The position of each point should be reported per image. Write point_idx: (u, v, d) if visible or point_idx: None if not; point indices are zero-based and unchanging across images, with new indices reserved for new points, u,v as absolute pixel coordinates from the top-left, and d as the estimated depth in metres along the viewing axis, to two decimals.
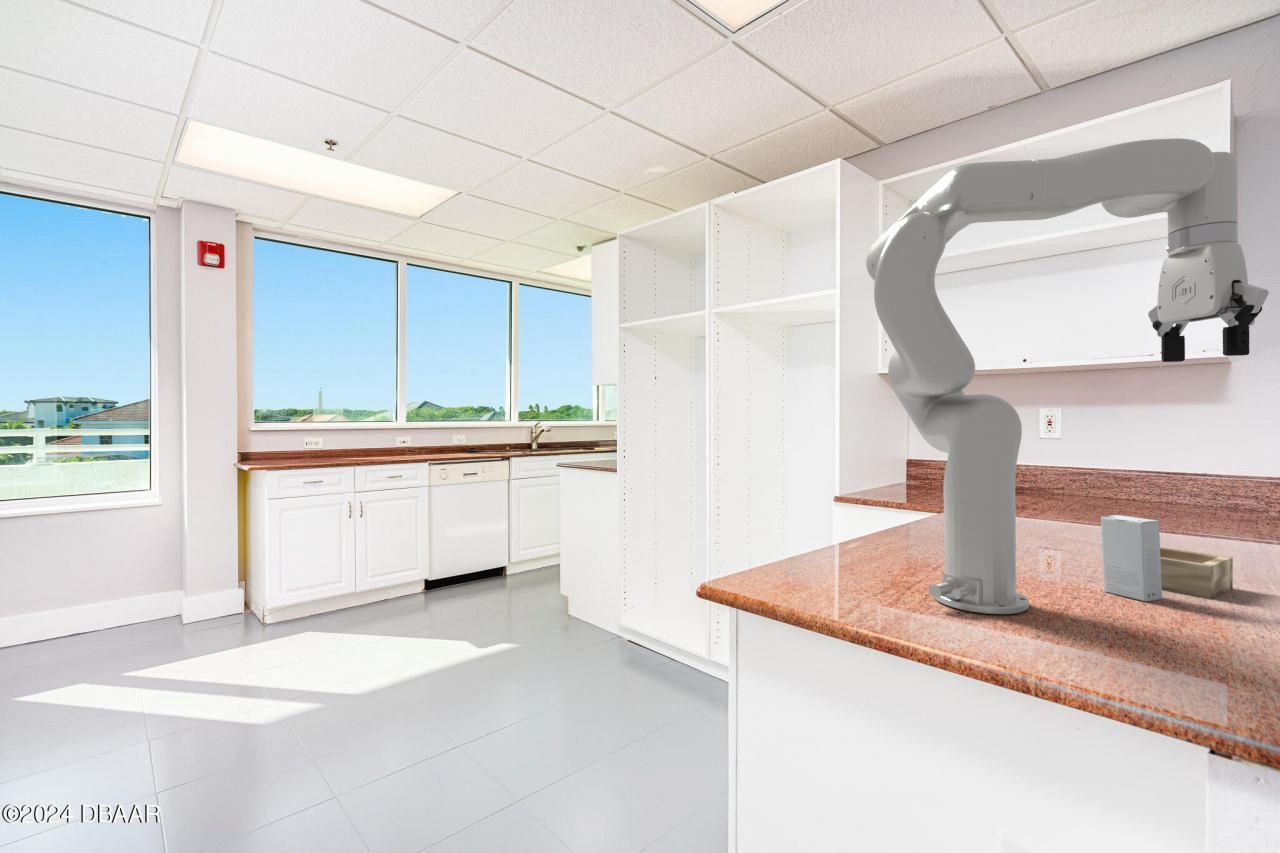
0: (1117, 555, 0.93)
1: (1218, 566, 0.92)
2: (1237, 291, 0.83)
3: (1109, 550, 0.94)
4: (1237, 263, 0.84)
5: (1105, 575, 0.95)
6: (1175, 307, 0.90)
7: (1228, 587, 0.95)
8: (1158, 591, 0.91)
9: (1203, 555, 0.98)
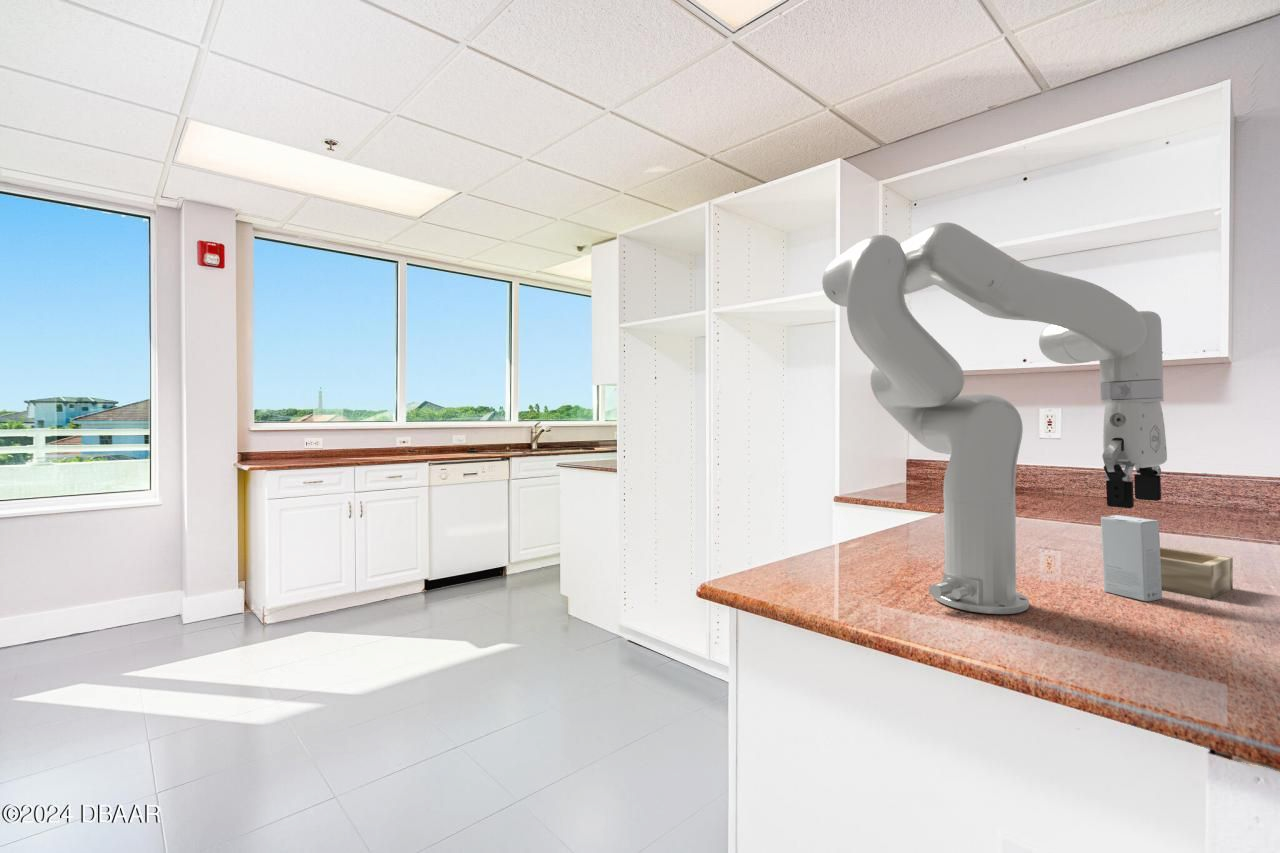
0: (1116, 555, 0.93)
1: (1218, 566, 0.92)
2: None
3: (1109, 550, 0.94)
4: None
5: (1105, 575, 0.95)
6: (1151, 454, 0.90)
7: (1228, 587, 0.95)
8: (1158, 591, 0.91)
9: (1203, 555, 0.98)
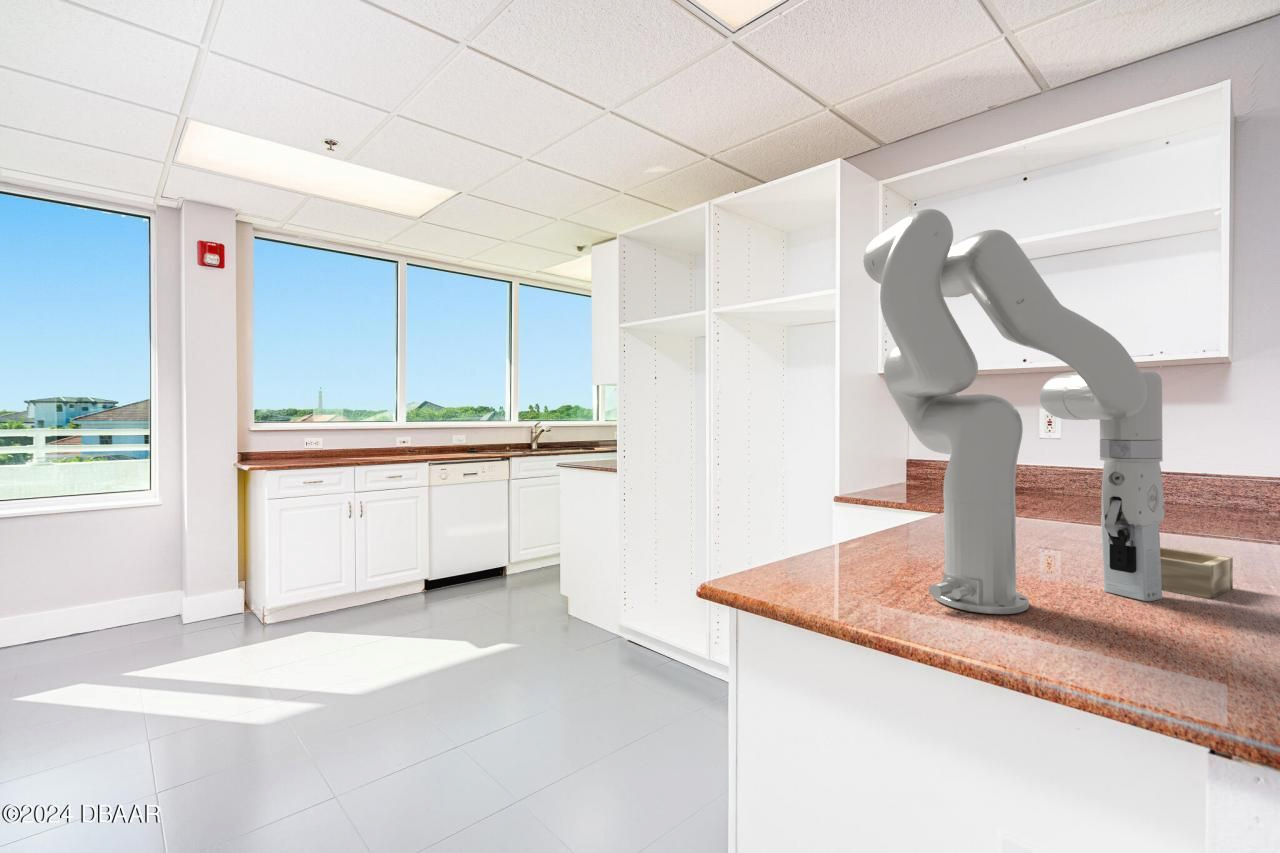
0: None
1: (1218, 566, 0.92)
2: None
3: (1109, 550, 0.94)
4: None
5: (1105, 575, 0.95)
6: (1149, 513, 0.90)
7: (1228, 587, 0.95)
8: (1158, 591, 0.91)
9: (1203, 555, 0.98)
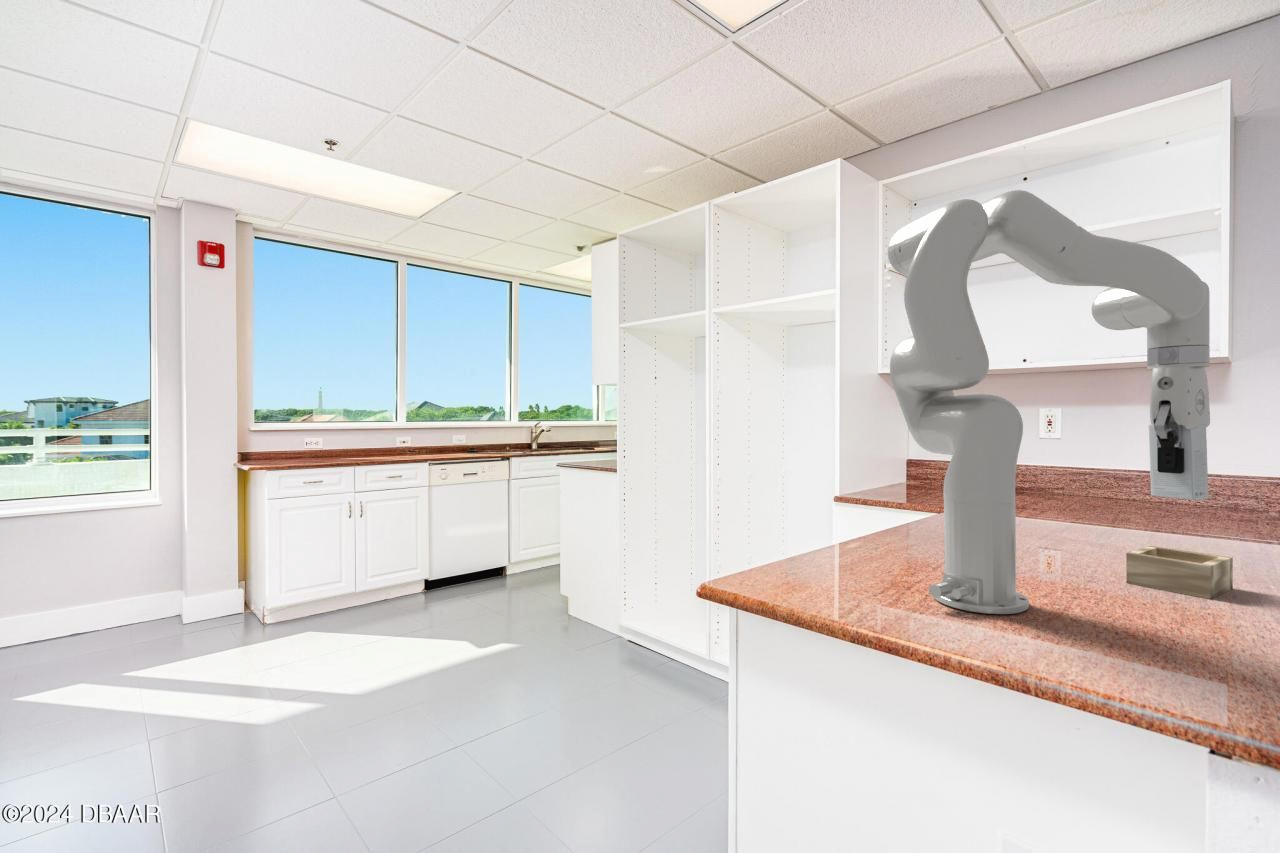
0: None
1: (1218, 566, 0.92)
2: None
3: None
4: None
5: (1152, 480, 0.99)
6: (1197, 416, 0.94)
7: (1228, 587, 0.95)
8: (1205, 491, 0.95)
9: (1203, 555, 0.98)
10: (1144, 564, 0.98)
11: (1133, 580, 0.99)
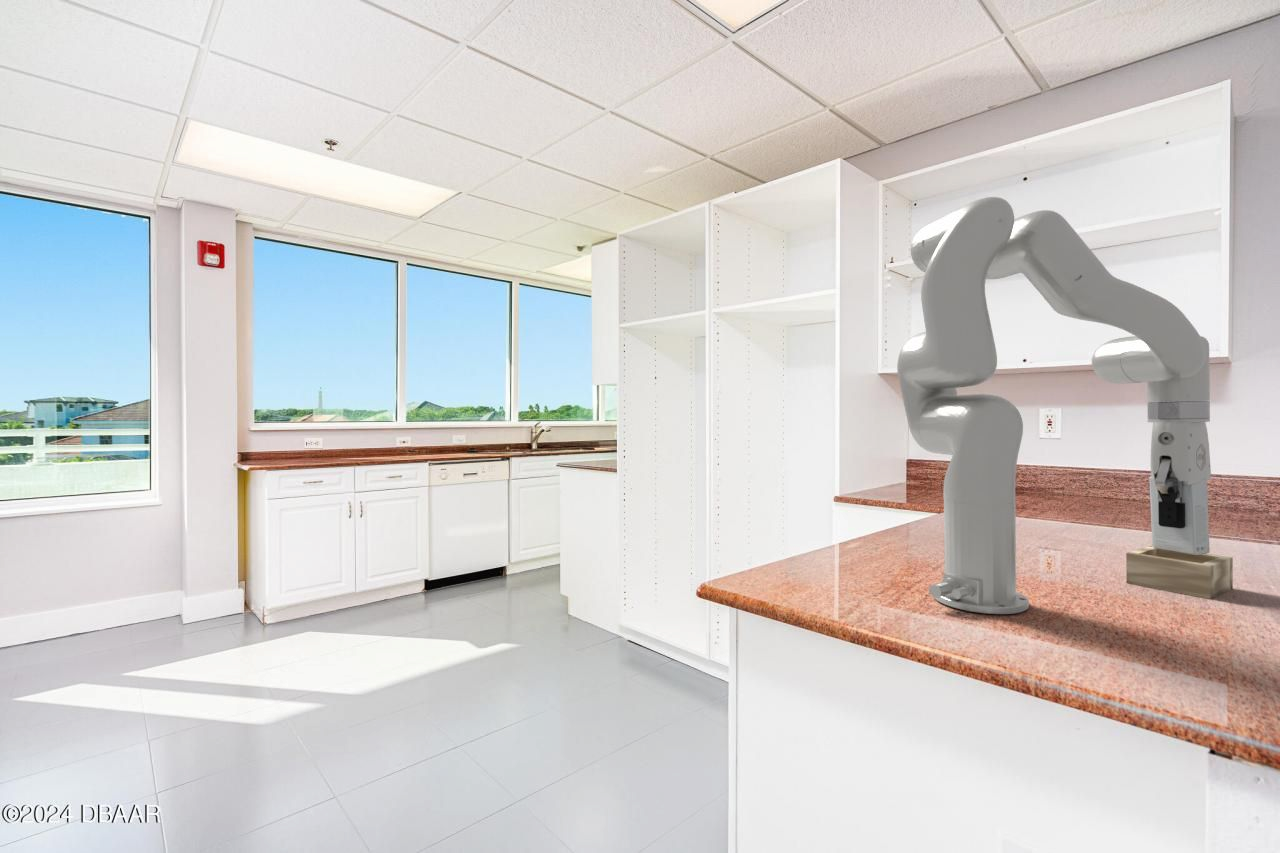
0: None
1: (1218, 566, 0.92)
2: None
3: None
4: None
5: (1153, 532, 0.99)
6: (1197, 471, 0.94)
7: (1228, 587, 0.95)
8: (1206, 545, 0.95)
9: (1203, 555, 0.98)
10: (1144, 564, 0.98)
11: (1133, 580, 0.99)
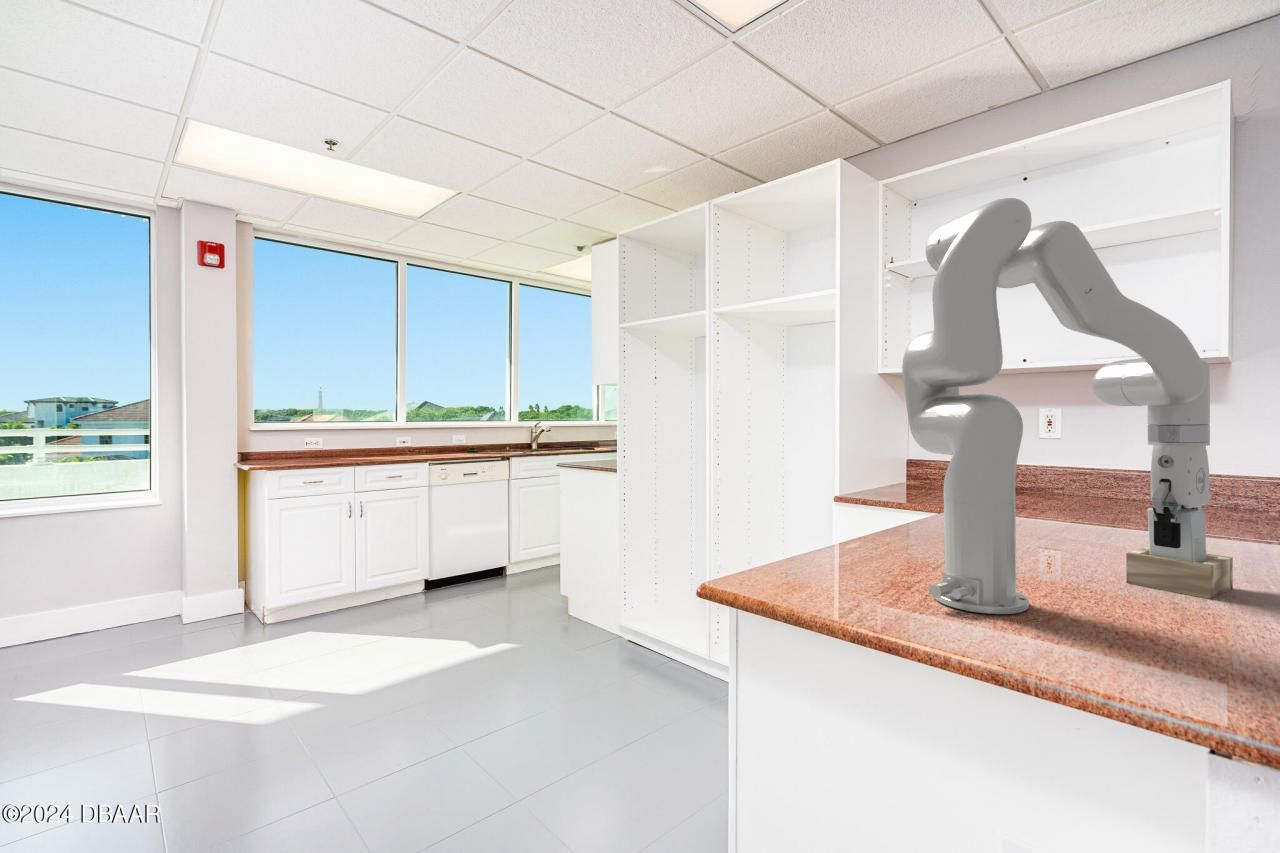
0: None
1: (1218, 566, 0.92)
2: None
3: None
4: None
5: None
6: (1197, 495, 0.94)
7: (1228, 587, 0.95)
8: None
9: None
10: (1144, 564, 0.98)
11: (1133, 580, 0.99)
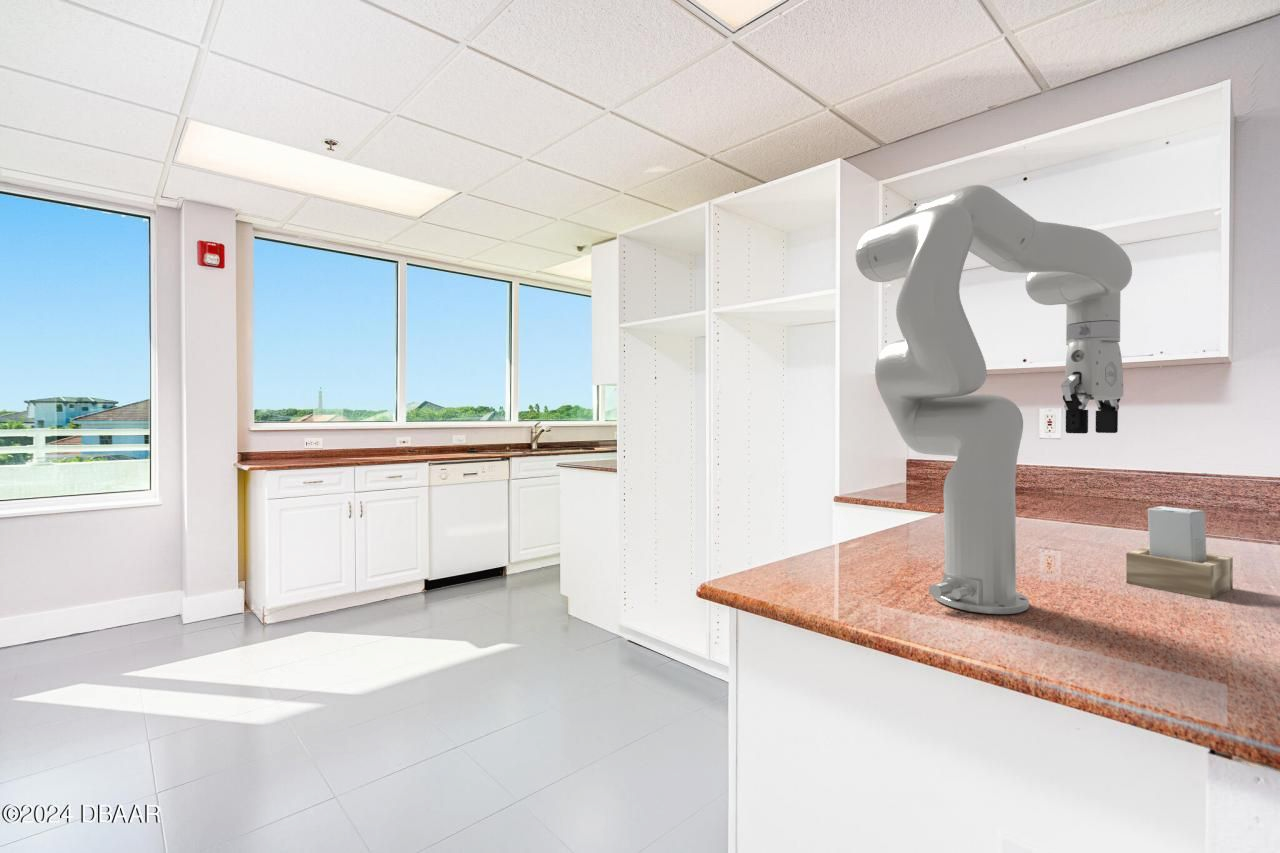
0: (1164, 544, 0.97)
1: (1218, 566, 0.92)
2: None
3: (1156, 540, 0.98)
4: None
5: None
6: (1106, 386, 1.01)
7: (1228, 587, 0.95)
8: None
9: None
10: (1144, 564, 0.98)
11: (1133, 580, 0.99)
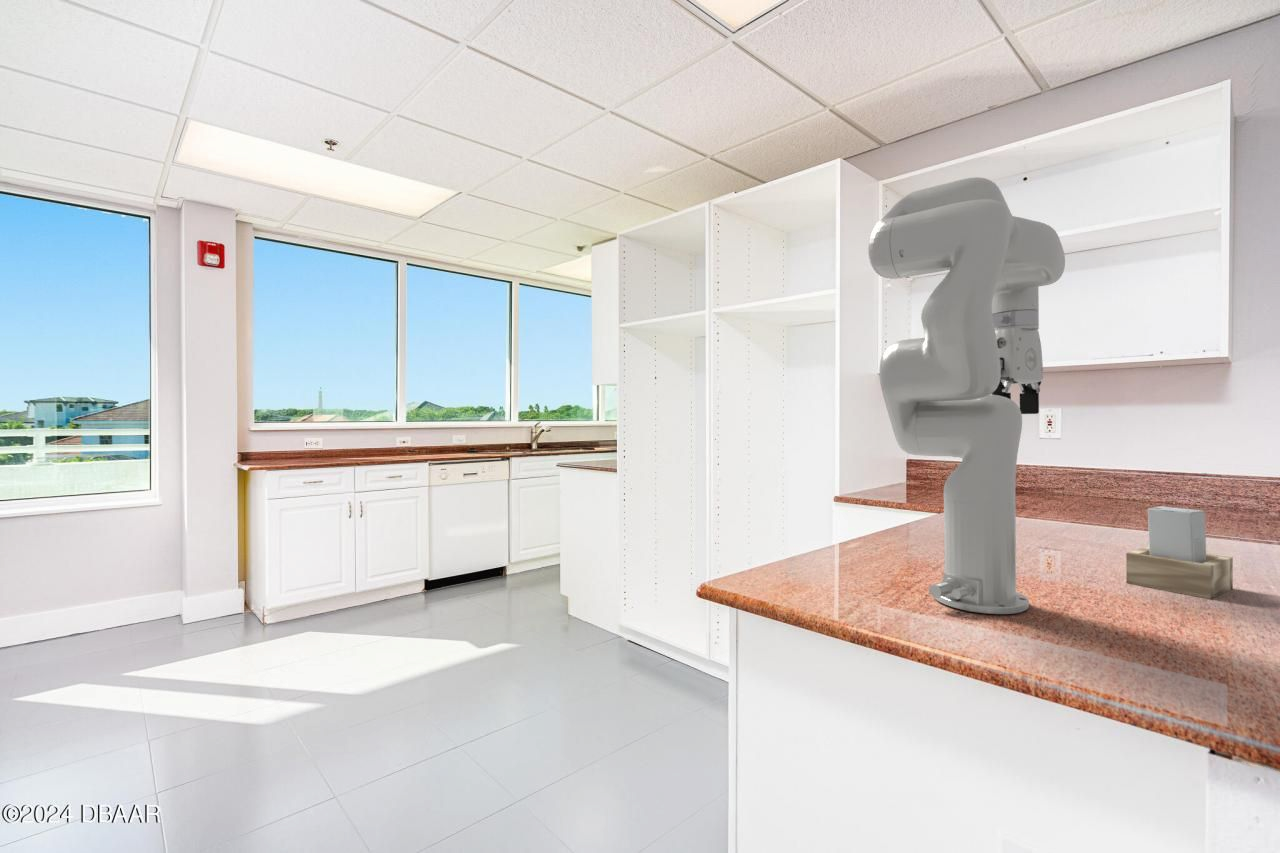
0: (1164, 544, 0.97)
1: (1218, 566, 0.92)
2: None
3: (1156, 540, 0.98)
4: None
5: None
6: (1027, 371, 1.10)
7: (1228, 587, 0.95)
8: None
9: None
10: (1144, 564, 0.98)
11: (1133, 580, 0.99)
